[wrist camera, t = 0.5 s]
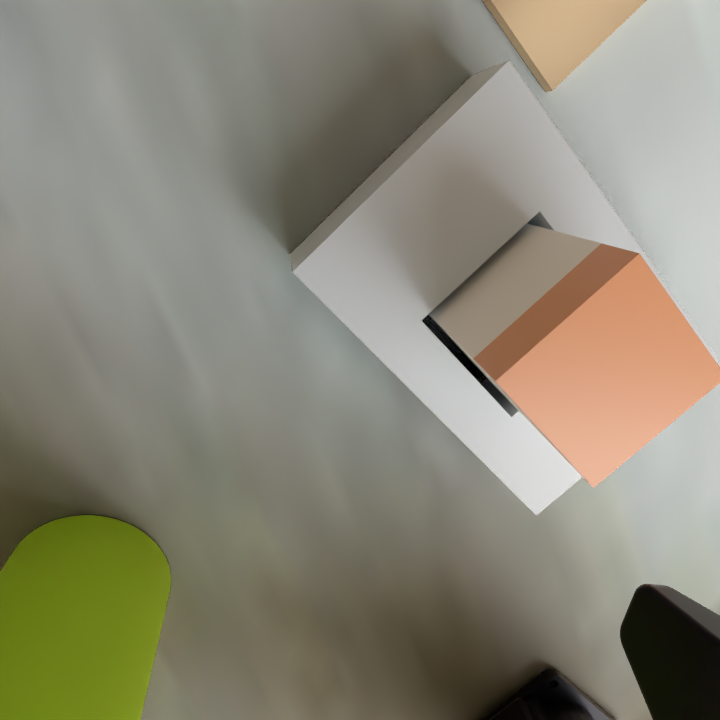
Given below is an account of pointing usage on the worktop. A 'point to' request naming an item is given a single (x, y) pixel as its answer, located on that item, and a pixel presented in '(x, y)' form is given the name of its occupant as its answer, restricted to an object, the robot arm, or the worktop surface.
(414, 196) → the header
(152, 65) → the worktop surface
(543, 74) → the mat
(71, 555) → the soap dispenser
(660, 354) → the plug
